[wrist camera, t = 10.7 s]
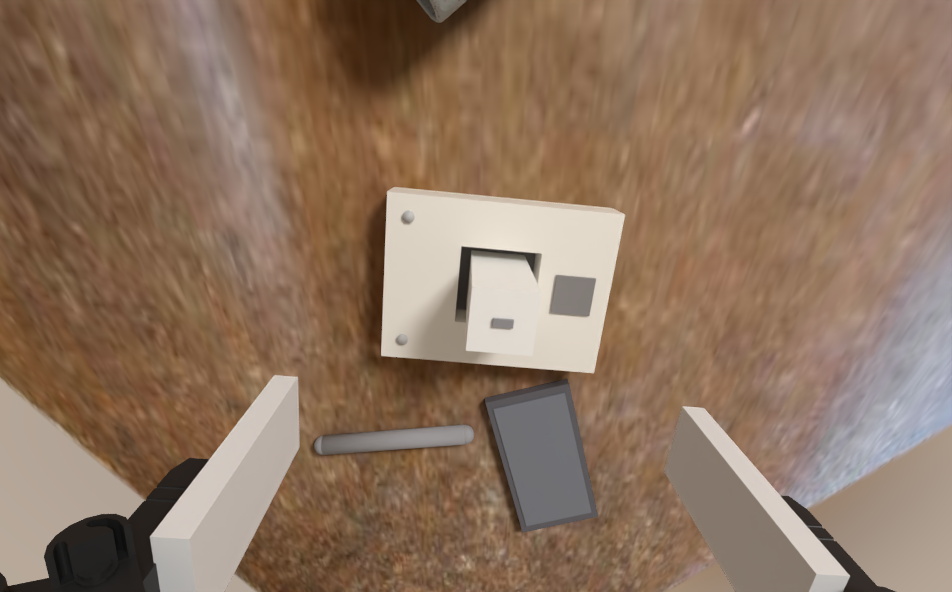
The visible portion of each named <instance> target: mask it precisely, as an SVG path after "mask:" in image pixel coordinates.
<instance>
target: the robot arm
mask: <svg viewBox="0 0 952 592" xmlns="http://www.w3.org/2000/svg"><path fill="white" fill-rule="evenodd" d="M298 449H299V403H298V377H290V376H277V375H274V376H273V378H272V379H271V380H270V382H269V383H268V384H267V385H266V387H265V388H264V389H263V391H262V392H261V393H260V395H259V396H258V397H257V398H256V400H255V401H254V402H253V404H252V405H251V406H250V408H249V409H248V410H247V411H246V413H245V414H244V415H243V417H242V418H241V419H240V420H239V422H238V423H237V424H236V426H235V427H234V428H233V430H232V431H231V432H230V433H229V435H228V436H227V437H226V439H225V440H224V441H223V443H222V444H221V445H220V446H219V448H218V449H217V450H216V452H215V453H214V454H213V456H212V457H211V458H210V459H195V458H189V459H187V460H186V461H184V462H183V463H181V464H179V465H178V466H176V467H175V468H173V469H172V470H170V471H169V473H168V474H167V475H166V476H165V477H164V478H163V479H162V481H161V482H160V483H159V484H158V485H157V488H156V489H154V490H153V491H152V492H151V493H150V495H149V496H148V497H147V499H146V501H144V502H143V503H142V504H141V505H140V506H139V507H138V508H137V510H136V511H135V512H134V513H133V514H132V515H131V517H130V518H129V519H128V520H127V518H126V517H123V516H120V515H117V514H101V515H97V516H93V517H89V518H85V519H83V520H81V521H79V522H77V523H74V524H72V525H70V526H69V527H67V528H66V529H64V530H63V531H62V532H60V533H59V534H57V535H56V536H55V537H54V539H53V540H52V541H51V542H50V543H49V545H48V546H47V548H46V552H45V555H44V558H45V562H46V566H47V570H48V574H49V578H47V579H42V580H37V581H32V582H27V583H22V584H17V585H12V586H8V585H7V582H6V578H5V577H4V576H3V575H2V574H1V573H0V592H225V590H226V588H227V586H228V584H229V582H230V580H231V579H232V577H233V575H234V573H235V571H236V569H237V567H238V565H239V563H240V561H241V559H242V557H243V555H244V553H245V551H246V549H247V548H248V546H249V544H250V542H251V540H252V538H253V536H254V534H255V532H256V530H257V528H258V526H259V524H260V522H261V520H262V518H263V517H264V515H265V513H266V511H267V509H268V507H269V505H270V503H271V501H272V499H273V497H274V495H275V493H276V491H277V489H278V488H279V486H280V484H281V482H282V480H283V478H284V476H285V474H286V472H287V470H288V468H289V466H290V464H291V462H292V460H293V458H294V457H295V455H296V453H297V451H298ZM664 472H665V474H666V476H667V477H668V479H669V481H670V482H671V484H672V486H673V487H674V489H675V491H676V492H677V494H678V496H679V498H680V499H681V501H682V503H683V504H684V506H685V508H686V509H687V511H688V513H689V514H690V516H691V518H692V519H693V521H694V523H695V525H696V526H697V528H698V530H699V531H700V533H701V535H702V536H703V538H704V540H705V541H706V543H707V545H708V547H709V548H710V550H711V552H712V553H713V555H714V557H715V558H716V560H717V562H718V563H719V565H720V567H721V568H722V570H723V572H724V574H725V575H726V577H727V579H728V580H729V582H730V584H731V585H732V587H733V589H734V590H735V592H895V591H893V590H890V589H888V588H885V587H879V586H877V585H876V584H875V583H874V582H873V581H872V580H871V579H870V578H869V577H868V576H867V575H866V574H865V572H864V571H863V570H862V569H861V568H860V567H859V566H858V565H857V563H856V562H855V561H854V560H853V559H852V558H851V557H850V556H849V555H848V554H847V553H846V552H845V551H844V549H843V548H842V547H841V546H840V545H839V544H838V543H837V542H836V541H834V540H833V537H832V536H831V535H830V534H829V533H828V532H827V531H826V529H823V528H822V525H821V524H820V523H819V522H818V521H817V520H816V519H815V517H814V516H813V515H812V514H811V513H810V512H809V511H808V510H807V509H806V508H804V507H803V506H801V505H800V504H799V503H797V502H796V501H795V500H793V499H792V498H790V497H789V496H780V495H779V494H778V493H777V492H776V490H775V489H774V488H773V487H772V486H771V485H770V483H769V482H768V481H767V480H766V479H765V478H764V477H763V475H762V474H761V473H760V472H759V471H758V470H757V469H756V467H755V466H754V465H753V464H752V463H751V462H750V461H749V459H748V458H747V457H746V456H745V455H744V454H743V452H742V451H741V450H740V449H739V448H738V447H737V446H736V444H735V443H734V442H733V441H732V440H731V439H730V438H729V436H728V435H727V434H726V433H725V432H724V431H723V430H722V428H721V427H720V426H719V425H718V424H717V423H716V422H715V420H714V419H713V418H712V417H711V416H710V415H709V413H708V412H707V411H706V410H705V409H704V408H697V407H684V406H682V410H681V413H680V417H679V420H678V424H677V428H676V431H675V435H674V438H673V442H672V446H671V449H670V453H669V456H668V460H667V464H666V467H665V471H664Z"/></svg>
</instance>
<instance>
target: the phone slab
mask: <svg viewBox="0 0 952 592" xmlns="http://www.w3.org/2000/svg"><path fill="white" fill-rule="evenodd" d="M485 404H486V407H487V410H488V414H489V417H490V421H491V424H492V428H493V431H494V435H495V438H496V442H497V445H498V449H499V452H500V456H501V459H502V463H503V466H504V470H505V473H506V477H507V480H508V484H509V487H510V490H511V494H512V497H513V501H514V504H515V508H516V511H517V515H518V518H519V522H520V525H521V529H522V532H527V531H532V530H537V529H541V528H546V527H551V526H555V525H560V524H565V523H570V522H574V521H579V520H584V519H588V518H593V517H598V514H597V510H596V505H595V500H594V496H593V491H592V487H591V482H590V478H589V473H588V468H587V464H586V459H585V455H584V450H583V446H582V441H581V437H580V432H579V427H578V423H577V418H576V414H575V409H574V405H573V400H572V395H571V391H570V386H569V383H568V380H567V379H564V380H560V381H556V382H552V383H547V384H543V385H539V386H534V387H530V388H526V389H521V390H517V391H513V392H509V393H504V394H500V395H496V396H491V397H487V398H485Z"/></svg>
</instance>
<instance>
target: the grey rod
mask: <svg viewBox="0 0 952 592" xmlns="http://www.w3.org/2000/svg"><path fill="white" fill-rule="evenodd" d="M473 438H474V431H473V429H472V428H471V427H470V426H468V425H455V426H441V427H428V428H415V429H401V430H388V431H375V432H361V433H348V434H335V435H323V436H320V437H319V438H317V440H316V441H315V444H314V448H315V451H316V452H317V453H318V454H321V455H329V454H343V453H356V452H370V451H383V450H396V449H410V448H423V447H437V446H450V445H463V444H468V443H470V442H471V441H472V440H473Z"/></svg>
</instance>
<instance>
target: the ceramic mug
mask: <svg viewBox="0 0 952 592" xmlns="http://www.w3.org/2000/svg"><path fill="white" fill-rule="evenodd" d="M466 1H467V0H417V2H418V3H419V4H420V5H421V7H422V8H423V9H424V11H425V12H426V13H427V14H428V15H429V17H430V18H431V19H432V20H434V21H435V22H437V23H441V22H443V21H444V20H445V19H446V18H448V17H449V16H450V15H451V14H452V13H453V12H454V11H456V10H457V9H458V8H459V7H460V6H461V5H462V4H464V3H465V2H466Z"/></svg>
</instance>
